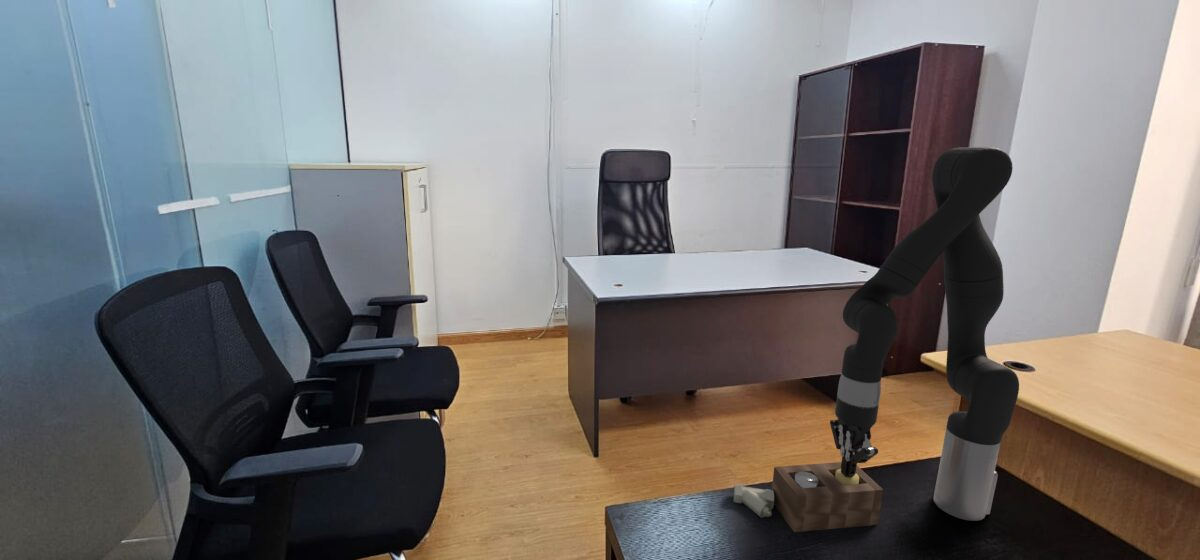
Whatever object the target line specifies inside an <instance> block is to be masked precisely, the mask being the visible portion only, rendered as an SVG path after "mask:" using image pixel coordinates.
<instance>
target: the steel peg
mask: <svg viewBox="0 0 1200 560" xmlns="http://www.w3.org/2000/svg"><path fill="white" fill-rule="evenodd" d="M795 482H796V483H797V484H798V486H799V487H800V488H813V487H818V478H817V477H816V476H815V475H813V474H811V473H808V472H798V473H796V474H795Z"/></svg>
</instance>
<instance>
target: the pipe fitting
mask: <svg viewBox="0 0 1200 560" xmlns="http://www.w3.org/2000/svg"><path fill="white" fill-rule="evenodd" d="M733 503H736V504H742V503H743V504H744V505H745V506H746V507H747V508H749V509H750V510H751V511H753V512H754V513H755V514H756V515H757V516H758V517H760V518H761V519H763V518H769V517H771V516H772V514H773V513H772V509H774V507H775V505H774V491H773V490H772V489H767V488H766V489H762V488H757V487H752V486H751V487H749V486H744V485H741V484H734V487H733Z"/></svg>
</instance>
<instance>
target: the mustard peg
mask: <svg viewBox="0 0 1200 560" xmlns="http://www.w3.org/2000/svg"><path fill="white" fill-rule="evenodd" d="M835 478H836V479H837V480H838V481H839V482H840V483H841V484H842V485H852V484H858V483H859V476H858V475H857V474H856V473H855V475H854V476H853V477H845V476H844V475H843V474H842V473H841V469H838V470H836V474H835Z"/></svg>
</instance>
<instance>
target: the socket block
mask: <svg viewBox="0 0 1200 560" xmlns="http://www.w3.org/2000/svg"><path fill="white" fill-rule="evenodd" d="M841 462H842V461H840V462H839V461H837V462H836V461H835V462H823V463H812V464H811V463H810V464H796V465H794V464H793V465H779V466H774V468H773V474H772V475H773V477H772V484H771V490H773V491H774V507H775V508H776V509H777V511H778V512H779V513H780V515H781V516H782V517H783V519H784V520H785V522H786V523H787V524H788V526H789V527H790V529H791V530H792V531H793V533H801V532H802V533H803V532H811V531H821V530H822V531H823V530H834V529H846V528H855V527H856V528H857V527H867V526H876V525H877V526H878V525H879V519H880V513H881V506H882V500H883V495H884V494H883V493H884V489H883V488H882V487H881V486H880V485H879V484H878V483H877V482H876V481H875V480H873V479H872V478H871V477H870V476H869V475H868V474H867V473H866V472H865V471H864V470H863V469H861V467H859V466H858V465H857V466H856V474H857V475H858V476H859V483H858V484H852V485H842V484H841V483H840V482H839V481H838V480H837V479H836V478H835V474H836V470H838V469H841ZM798 472H808V473H811V474H813V475H815V476H816V477H817V478H818V487H813V488H800V487H799V486H798V484H797V483H796V482H795V474H796V473H798Z"/></svg>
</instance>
